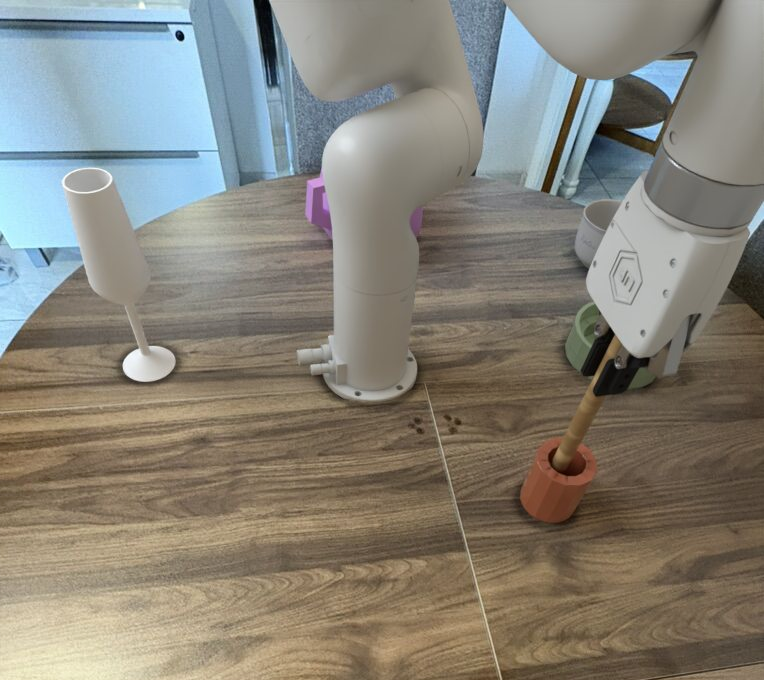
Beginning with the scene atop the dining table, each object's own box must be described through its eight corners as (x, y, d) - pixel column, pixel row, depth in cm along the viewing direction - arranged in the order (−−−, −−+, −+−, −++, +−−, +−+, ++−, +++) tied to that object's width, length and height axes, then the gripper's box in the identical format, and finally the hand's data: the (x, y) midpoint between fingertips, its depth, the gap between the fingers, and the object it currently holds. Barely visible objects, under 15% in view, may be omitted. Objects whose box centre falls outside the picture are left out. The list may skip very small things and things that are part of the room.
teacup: (561, 271, 97) (577, 223, 90) (575, 235, 103) (592, 188, 96) (648, 296, 95) (672, 250, 88) (658, 258, 100) (681, 212, 94)
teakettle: (302, 249, 96) (297, 168, 86) (334, 193, 105) (334, 114, 95) (407, 272, 94) (415, 193, 84) (431, 213, 104) (441, 136, 93)
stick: (555, 472, 66) (622, 343, 51) (548, 459, 67) (612, 328, 52) (570, 470, 66) (641, 340, 51) (563, 457, 67) (631, 326, 52)
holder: (531, 531, 69) (551, 490, 63) (510, 485, 73) (527, 442, 66) (582, 521, 71) (607, 479, 64) (559, 476, 74) (581, 433, 67)
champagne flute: (168, 340, 83) (114, 157, 63) (181, 373, 80) (130, 191, 60) (117, 353, 81) (45, 168, 61) (129, 387, 78) (57, 204, 58)
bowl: (588, 399, 82) (602, 371, 77) (549, 333, 88) (559, 304, 84) (675, 385, 84) (692, 357, 80) (630, 322, 91) (644, 293, 87)
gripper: (603, 125, 44) (531, 329, 59) (721, 262, 36) (603, 456, 51) (694, 120, 45) (601, 320, 61) (827, 250, 37) (681, 442, 53)
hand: (602, 381), depth 56 cm, fingers closed on stick, 1 cm apart
